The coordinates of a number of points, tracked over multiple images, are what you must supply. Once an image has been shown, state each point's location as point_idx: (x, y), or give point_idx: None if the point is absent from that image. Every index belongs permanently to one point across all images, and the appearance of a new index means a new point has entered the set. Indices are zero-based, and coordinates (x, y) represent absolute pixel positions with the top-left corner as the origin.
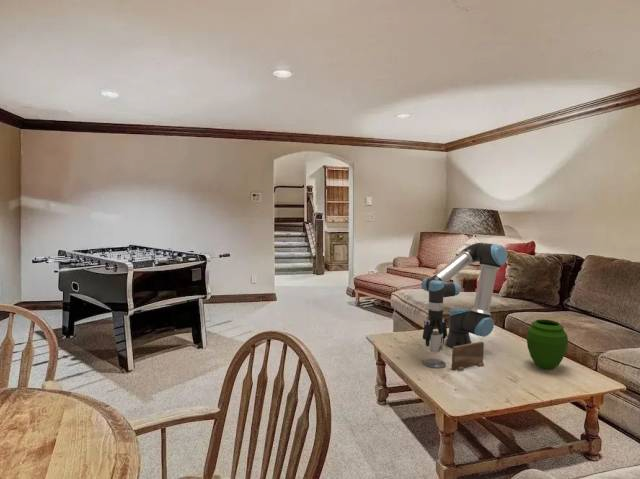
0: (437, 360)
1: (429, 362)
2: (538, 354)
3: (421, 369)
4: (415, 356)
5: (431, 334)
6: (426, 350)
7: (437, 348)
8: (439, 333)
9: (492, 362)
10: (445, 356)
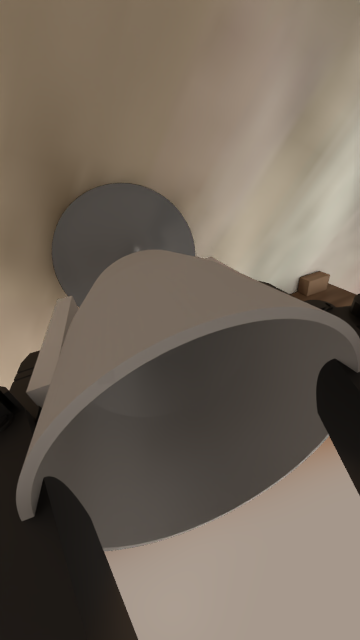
0: (168, 229)
1: (101, 251)
2: None
3: (16, 324)
4: (13, 30)
5: (97, 549)
6: (57, 303)
7: (152, 364)
8: (323, 360)
9: (357, 286)
10: (260, 153)
